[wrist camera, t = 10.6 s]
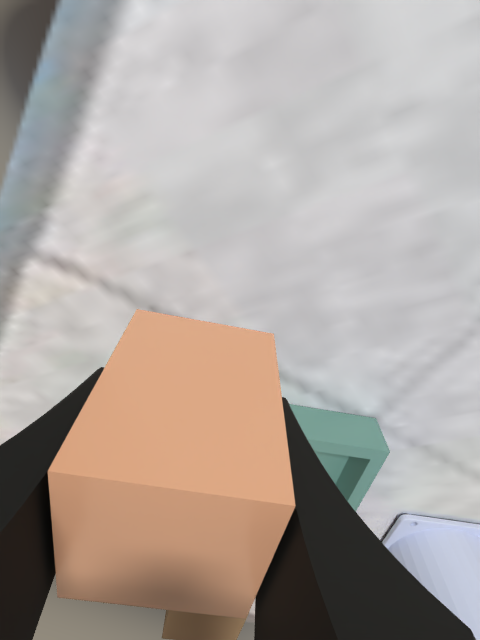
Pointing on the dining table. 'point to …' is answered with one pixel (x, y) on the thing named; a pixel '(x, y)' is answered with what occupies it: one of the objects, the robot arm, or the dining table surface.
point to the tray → (345, 448)
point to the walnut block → (200, 626)
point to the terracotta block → (175, 471)
